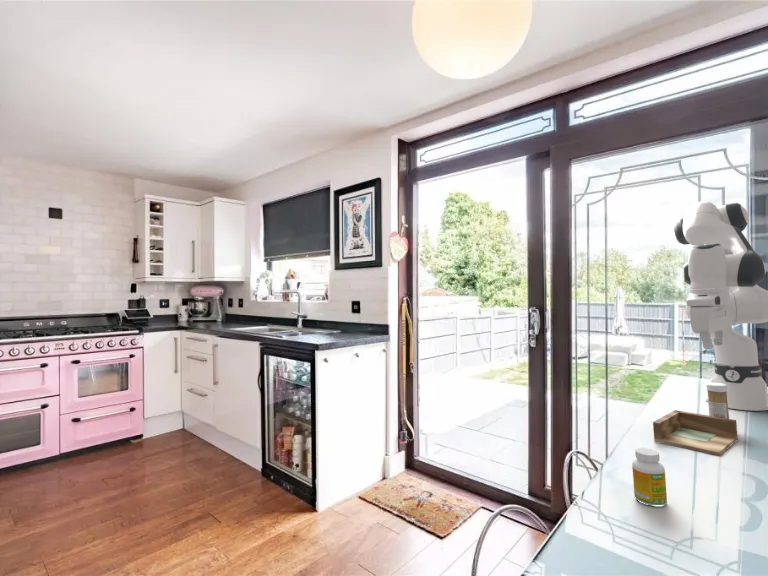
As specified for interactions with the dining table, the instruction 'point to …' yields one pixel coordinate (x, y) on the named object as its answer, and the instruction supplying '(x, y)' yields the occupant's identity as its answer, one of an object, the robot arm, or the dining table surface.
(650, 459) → the supplement bottle
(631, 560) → the dining table surface
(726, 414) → the sprinkles bottle
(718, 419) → the corner arena
